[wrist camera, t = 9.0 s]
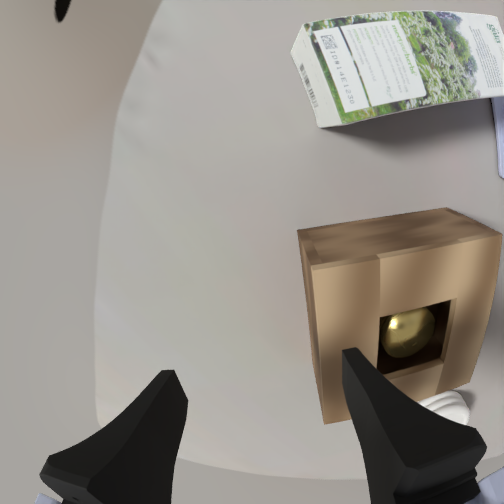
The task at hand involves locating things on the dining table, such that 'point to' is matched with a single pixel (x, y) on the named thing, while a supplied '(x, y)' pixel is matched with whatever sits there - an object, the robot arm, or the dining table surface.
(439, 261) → the box
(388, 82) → the syrup box
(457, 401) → the coaster
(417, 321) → the cylinder
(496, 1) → the dining table surface
